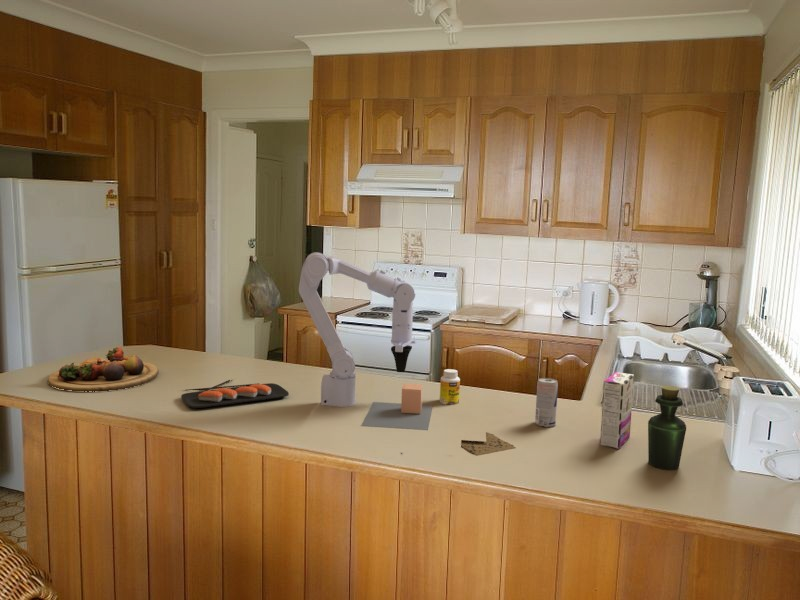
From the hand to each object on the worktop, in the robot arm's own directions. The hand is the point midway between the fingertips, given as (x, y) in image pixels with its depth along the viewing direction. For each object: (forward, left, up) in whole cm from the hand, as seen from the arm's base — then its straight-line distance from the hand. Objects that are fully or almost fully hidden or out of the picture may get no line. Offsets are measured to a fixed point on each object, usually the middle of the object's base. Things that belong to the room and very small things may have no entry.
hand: (400, 371), depth 189 cm
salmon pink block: (+4, -8, -9) cm, 12 cm away
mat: (+1, -12, -10) cm, 16 cm away
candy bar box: (+56, -19, -10) cm, 60 cm away
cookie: (+23, -27, -10) cm, 37 cm away
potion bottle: (+64, -33, -10) cm, 73 cm away
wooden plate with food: (-95, +10, -11) cm, 96 cm away
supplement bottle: (+14, +3, -10) cm, 18 cm away
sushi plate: (-52, +3, -11) cm, 53 cm away
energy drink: (+40, -9, -10) cm, 42 cm away
